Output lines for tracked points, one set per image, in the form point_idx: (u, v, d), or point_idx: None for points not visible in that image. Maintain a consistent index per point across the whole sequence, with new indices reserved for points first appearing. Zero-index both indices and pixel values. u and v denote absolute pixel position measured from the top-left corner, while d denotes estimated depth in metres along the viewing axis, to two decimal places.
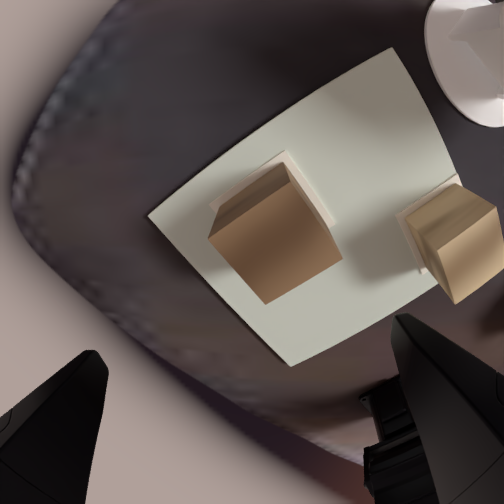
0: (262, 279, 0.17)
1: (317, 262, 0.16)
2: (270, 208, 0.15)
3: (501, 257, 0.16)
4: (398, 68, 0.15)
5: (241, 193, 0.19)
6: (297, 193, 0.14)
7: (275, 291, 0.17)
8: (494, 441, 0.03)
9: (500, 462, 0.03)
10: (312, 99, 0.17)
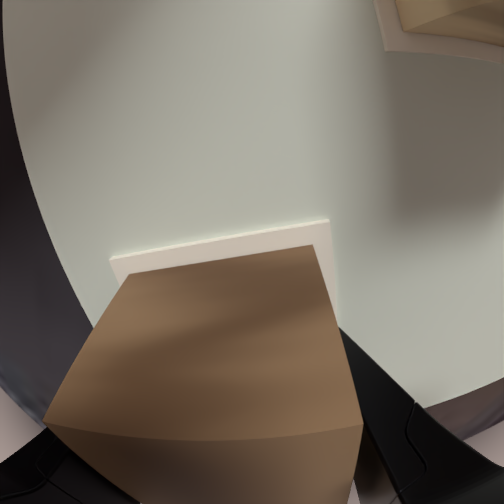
0: None
1: (316, 468, 0.04)
2: (108, 468, 0.04)
3: None
4: None
5: None
6: (70, 428, 0.04)
7: None
8: (388, 482, 0.03)
9: None
10: (32, 166, 0.07)
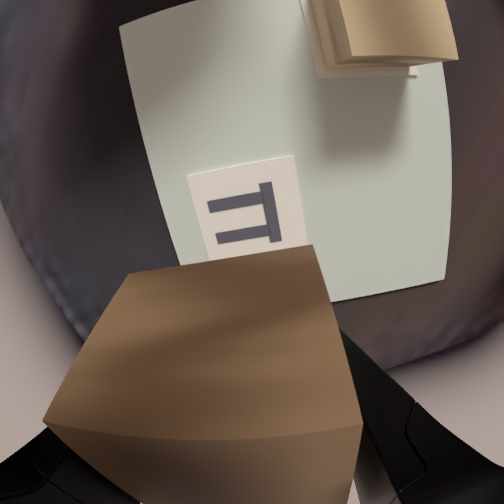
0: None
1: (316, 467, 0.04)
2: (108, 468, 0.04)
3: None
4: (142, 24, 0.13)
5: None
6: (70, 428, 0.04)
7: None
8: (388, 481, 0.03)
9: None
10: (145, 128, 0.16)
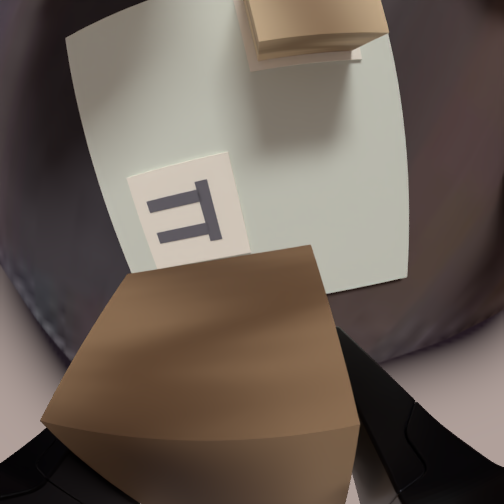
0: None
1: (313, 468, 0.04)
2: (106, 468, 0.04)
3: None
4: (85, 34, 0.12)
5: None
6: (68, 428, 0.04)
7: None
8: (388, 481, 0.03)
9: None
10: (89, 133, 0.15)
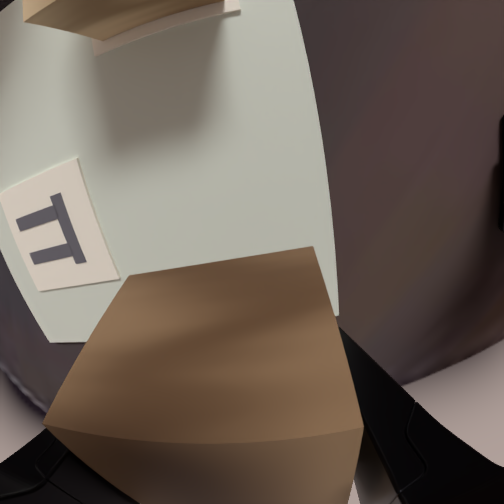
0: None
1: (316, 471, 0.04)
2: (108, 470, 0.04)
3: None
4: None
5: None
6: (70, 430, 0.04)
7: None
8: (388, 482, 0.03)
9: None
10: None
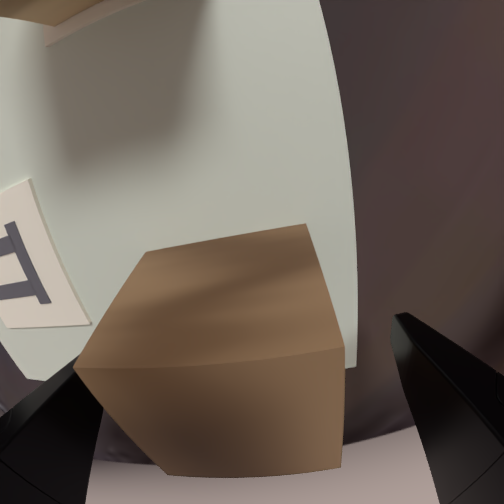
0: (281, 464, 0.06)
1: (310, 399, 0.05)
2: (127, 415, 0.06)
3: None
4: None
5: None
6: (99, 369, 0.05)
7: (324, 457, 0.06)
8: (494, 441, 0.03)
9: (500, 462, 0.03)
10: None
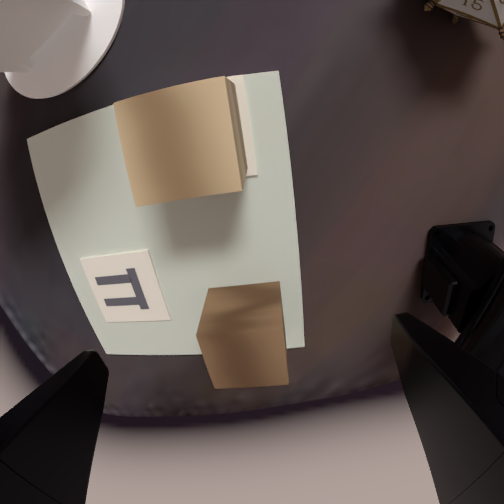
0: (264, 378, 0.19)
1: (274, 345, 0.17)
2: (210, 353, 0.18)
3: (200, 89, 0.11)
4: (40, 139, 0.17)
5: None
6: (207, 335, 0.17)
7: (281, 375, 0.19)
8: (494, 441, 0.03)
9: (500, 462, 0.03)
10: (51, 222, 0.20)
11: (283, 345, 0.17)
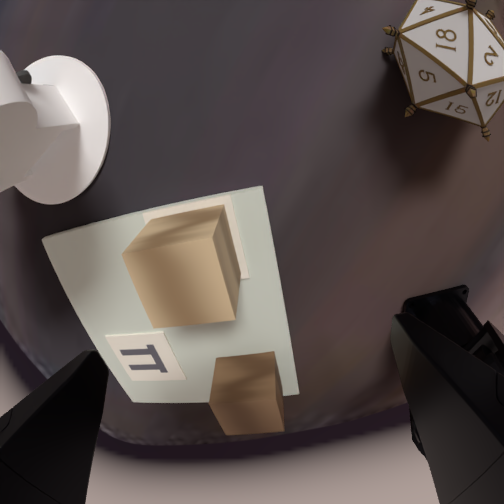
0: (264, 428, 0.22)
1: (269, 408, 0.21)
2: (221, 414, 0.22)
3: (193, 248, 0.15)
4: (54, 241, 0.21)
5: None
6: (217, 403, 0.21)
7: (277, 426, 0.22)
8: (493, 441, 0.03)
9: (500, 462, 0.03)
10: (75, 307, 0.24)
11: (277, 408, 0.21)
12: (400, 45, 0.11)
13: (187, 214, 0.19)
